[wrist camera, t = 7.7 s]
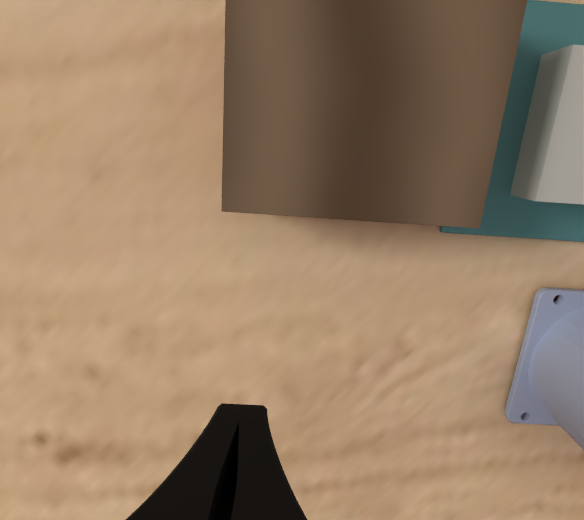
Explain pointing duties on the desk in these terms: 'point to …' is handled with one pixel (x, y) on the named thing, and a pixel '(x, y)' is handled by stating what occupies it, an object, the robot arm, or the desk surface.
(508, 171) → the mat
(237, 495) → the robot arm
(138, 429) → the desk surface
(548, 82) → the tile
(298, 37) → the block
